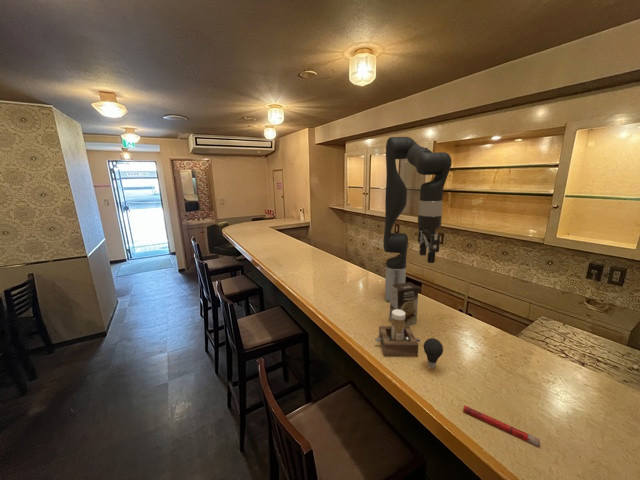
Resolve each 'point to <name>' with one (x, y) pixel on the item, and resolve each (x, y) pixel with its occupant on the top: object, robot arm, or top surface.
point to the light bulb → (433, 351)
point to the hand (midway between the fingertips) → (426, 258)
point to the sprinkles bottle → (397, 325)
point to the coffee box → (405, 301)
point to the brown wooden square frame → (398, 343)
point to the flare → (502, 426)
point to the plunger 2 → (409, 339)
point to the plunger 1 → (381, 339)
